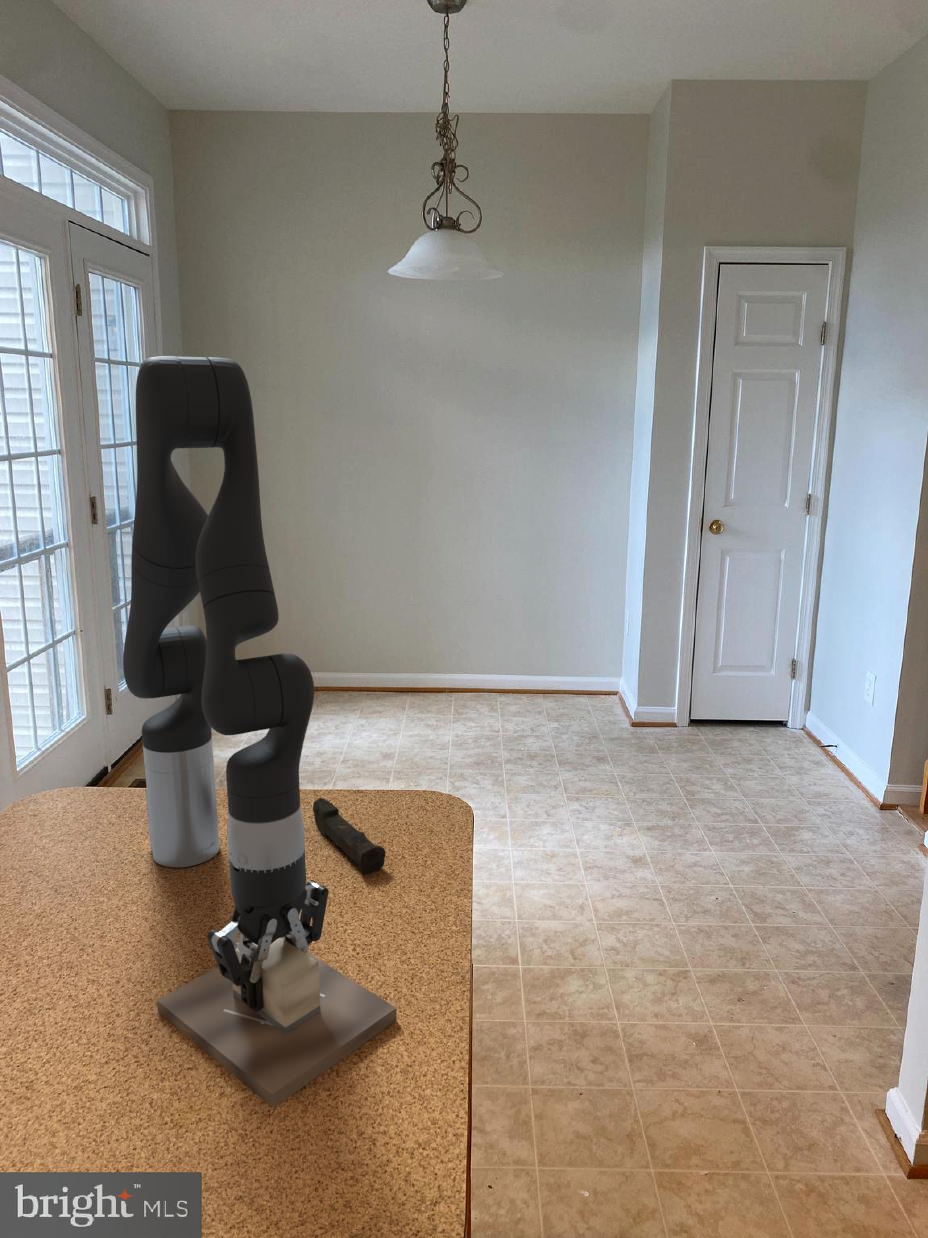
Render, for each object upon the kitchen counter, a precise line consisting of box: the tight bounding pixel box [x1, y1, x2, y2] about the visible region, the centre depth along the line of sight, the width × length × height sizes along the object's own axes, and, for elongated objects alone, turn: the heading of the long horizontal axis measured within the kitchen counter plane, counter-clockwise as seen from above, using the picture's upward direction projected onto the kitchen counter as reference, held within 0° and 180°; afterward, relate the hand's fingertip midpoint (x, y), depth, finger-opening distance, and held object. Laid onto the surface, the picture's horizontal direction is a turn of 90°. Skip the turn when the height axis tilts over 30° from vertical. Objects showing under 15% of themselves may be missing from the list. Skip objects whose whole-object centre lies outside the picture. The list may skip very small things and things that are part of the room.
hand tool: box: [312, 797, 386, 876], centre depth 131 cm, size 19×4×5 cm, turn 32°
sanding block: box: [233, 938, 321, 1034], centre depth 94 cm, size 9×4×6 cm, turn 49°
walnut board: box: [156, 937, 398, 1109], centre depth 95 cm, size 20×16×2 cm
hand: (275, 994), depth 94 cm, fingers open, 4 cm apart
